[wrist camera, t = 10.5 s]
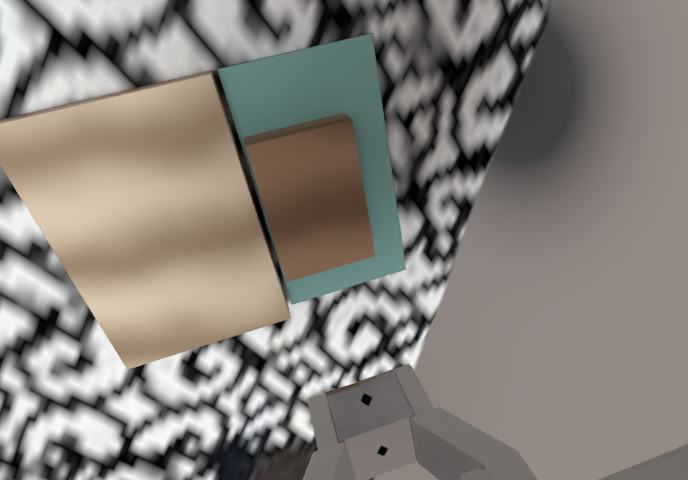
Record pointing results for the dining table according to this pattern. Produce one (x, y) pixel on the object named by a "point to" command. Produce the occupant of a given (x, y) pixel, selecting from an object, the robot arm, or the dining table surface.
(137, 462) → the dining table surface
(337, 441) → the robot arm
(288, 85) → the mat
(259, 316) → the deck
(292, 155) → the tile
